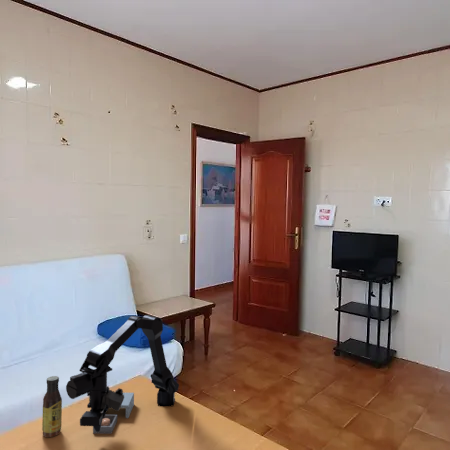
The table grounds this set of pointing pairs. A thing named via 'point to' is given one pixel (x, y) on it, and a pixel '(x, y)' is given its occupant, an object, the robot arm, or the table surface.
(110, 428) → the tray
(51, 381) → the sauce bottle
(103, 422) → the tan rounded dome
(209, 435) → the table surface
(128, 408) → the grey small bench
